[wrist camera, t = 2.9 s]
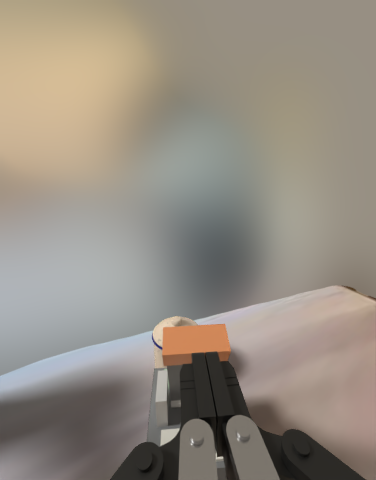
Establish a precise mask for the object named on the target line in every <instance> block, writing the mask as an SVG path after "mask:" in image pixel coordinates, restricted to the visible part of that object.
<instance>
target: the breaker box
mask: <svg viewBox="0 0 376 480" xmlns="http://www.w3.org/2000/svg"><path fill="white" fill-rule="evenodd" d="M180 426H181V407H176V408H171V398H170V390H169V381H168V372H167V368H155V369H154V375H153V385H152V395H151V404H150V414H149V423H148V433H147V442H153V443H155V444H156V445H158V446H159V447H160V446H162V445H164V444H166V443H168V442H169V441H171V440H172V439H173V438H174V437H175V436H176V435H177V433H178V431H179V429H180ZM216 466H217V476H218V480H225V465H224V460H223V457H217V453H216Z"/></svg>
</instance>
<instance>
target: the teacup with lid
mask: <svg viewBox="0 0 376 480" xmlns="http://www.w3.org/2000/svg"><path fill="white" fill-rule="evenodd" d="M179 326H197V324H196V323H195V322H194V321H193V320H191V319H188V318H185V317H179V316H175V317H171V318H168V319H165V320H163V321H161V322H160V323H159V324H158V325H157V326H156V327H155V329H154V331H153V334H152V340H153V342H154V354H155V368H167V366H164V364H163V357H162V347H163V327H179Z"/></svg>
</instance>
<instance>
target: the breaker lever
mask: <svg viewBox="0 0 376 480" xmlns="http://www.w3.org/2000/svg"><path fill="white" fill-rule="evenodd" d="M214 351H217V352H218V355H219V359H220V361H228V358H229V355H230V352H231V349H230V345H229V340H228V336H227V331H226V326H225V324H215V325H197V326H179V327H163V347H162V357H163V364H164V366H167V372H168V381H169V390H170V398H171V408H176V407H181V398H180V370H181V368H182V365H183V364H191V363H192V358H191V354H192V353H200V352H204V354H205V352H214Z"/></svg>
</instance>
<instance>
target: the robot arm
mask: <svg viewBox="0 0 376 480" xmlns="http://www.w3.org/2000/svg"><path fill="white" fill-rule="evenodd" d="M191 358H192V363H191V364H183V365H182V368H181V370H180V398H181V426H180V429H179V431H178V433H177V435H176V436H175V437H174V438H173V439H172V440H171V441H169V442H168V443H166V444H164V445H162V446H160V447H159V446H158V445H156V444H155V443H153V442H144V443H141V444H139V445H138V446H137V447H135V448H134V449H133V451H132V452H131V453H130V454H129V456H128V457H127V458H126V460H125V461H124V462H123V463H122V465H121V466H120V467H119V469H118V470H117V471H116V473H115V474H114V475H113V476H112V478H111V479H110V480H218V476H217V466H216V453H217V457H223V460H224V465H225V480H365V479H364V478H363V477H361V476H360V475H359V474H358V473H356V472H355V471H354V470H352V469H351V468H350V467H348V466H347V465H346V464H345V463H343V462H342V461H341V460H339V459H338V458H337V457H335V456H334V455H333V454H332V453H330V452H329V451H328V450H326V449H325V448H324V447H322V446H321V445H320V444H319V443H317V442H316V441H315V440H313V439H312V438H311V437H309V436H308V435H307V434H305V433H304V432H302V431H299V430H296V429H290V430H287V431H286V432H285V433H284V434H283V436H279V435H276V434H272V433H269V432H266V431H264V430H262V429H261V428H259V427H258V426H257V425H256V424H255V423H254V422H253V420H252V419H251V417H250V415H249V412H248V409H247V406H246V403H245V400H244V397H243V394H242V391H241V388H240V386H239V382H238V379H237V376H236V373H235V370H234V368H233V367H232V365H231V364H230V363H229V362H228V361H220V359H219V355H218V352H217V351H214V352H205V354H204V352H200V353H192V354H191Z"/></svg>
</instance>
